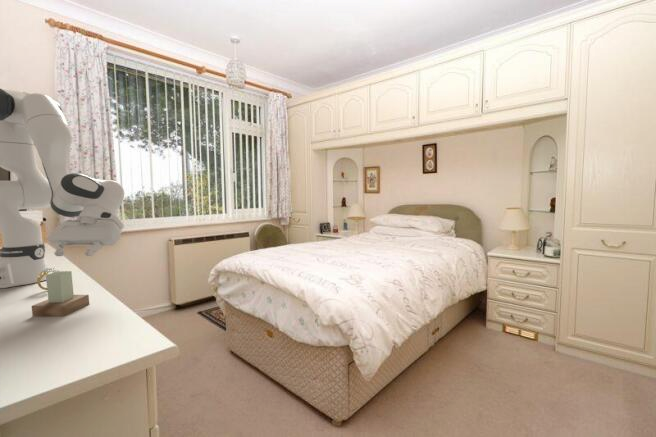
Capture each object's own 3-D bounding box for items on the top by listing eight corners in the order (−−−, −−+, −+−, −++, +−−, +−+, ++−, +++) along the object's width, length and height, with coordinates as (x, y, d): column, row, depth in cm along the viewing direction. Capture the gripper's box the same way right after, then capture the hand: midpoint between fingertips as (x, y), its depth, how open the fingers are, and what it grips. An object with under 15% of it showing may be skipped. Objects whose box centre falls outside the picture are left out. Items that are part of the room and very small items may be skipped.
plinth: (32, 316, 88) (31, 305, 87) (60, 304, 97) (59, 295, 96) (64, 315, 88) (63, 305, 87) (89, 304, 97) (88, 294, 96)
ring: (38, 293, 107) (36, 270, 107) (37, 291, 109) (34, 269, 109) (65, 288, 113) (63, 266, 112) (62, 286, 115) (60, 265, 114)
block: (48, 302, 90) (45, 275, 89) (60, 297, 94) (57, 271, 93) (62, 302, 90) (59, 274, 89) (73, 297, 94) (71, 271, 93)
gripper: (57, 214, 103) (32, 249, 94) (119, 214, 103) (99, 249, 94) (69, 226, 108) (46, 260, 99) (129, 226, 108) (111, 260, 99)
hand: (73, 255), depth 97 cm, fingers open, 8 cm apart
